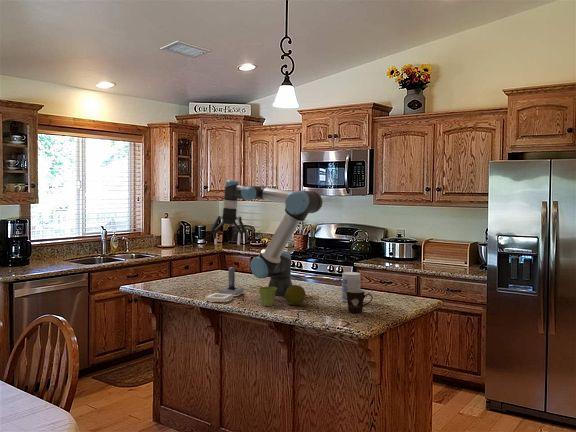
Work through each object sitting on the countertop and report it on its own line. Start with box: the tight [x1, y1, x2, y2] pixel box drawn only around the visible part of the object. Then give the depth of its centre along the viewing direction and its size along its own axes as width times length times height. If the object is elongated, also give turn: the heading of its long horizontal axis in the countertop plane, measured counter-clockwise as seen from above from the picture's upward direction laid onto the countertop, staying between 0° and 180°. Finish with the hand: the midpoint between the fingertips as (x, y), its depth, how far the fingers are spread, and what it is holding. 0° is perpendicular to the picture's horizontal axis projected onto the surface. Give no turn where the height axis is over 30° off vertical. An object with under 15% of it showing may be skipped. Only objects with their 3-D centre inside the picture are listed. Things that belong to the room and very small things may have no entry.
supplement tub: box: [341, 271, 362, 303], centre depth 270 cm, size 10×10×15 cm
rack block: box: [204, 292, 234, 302], centre depth 272 cm, size 11×11×2 cm
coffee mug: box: [346, 289, 373, 315], centre depth 244 cm, size 12×9×10 cm
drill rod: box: [227, 267, 236, 290], centre depth 287 cm, size 3×3×15 cm
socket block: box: [218, 286, 245, 295], centre depth 287 cm, size 10×10×4 cm
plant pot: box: [257, 286, 277, 307], centre depth 261 cm, size 9×9×9 cm
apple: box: [284, 284, 306, 306], centre depth 261 cm, size 10×10×11 cm
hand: (227, 244), depth 297 cm, fingers open, 13 cm apart
